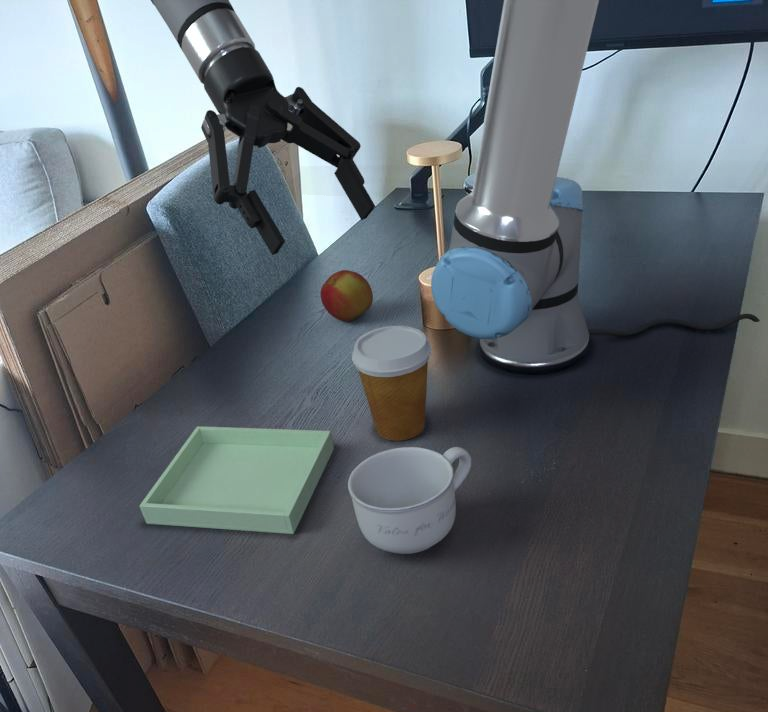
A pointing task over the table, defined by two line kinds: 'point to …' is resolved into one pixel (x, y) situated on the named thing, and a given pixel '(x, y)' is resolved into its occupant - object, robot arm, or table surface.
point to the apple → (346, 295)
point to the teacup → (407, 496)
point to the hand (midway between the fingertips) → (325, 230)
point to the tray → (240, 479)
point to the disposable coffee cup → (394, 379)
